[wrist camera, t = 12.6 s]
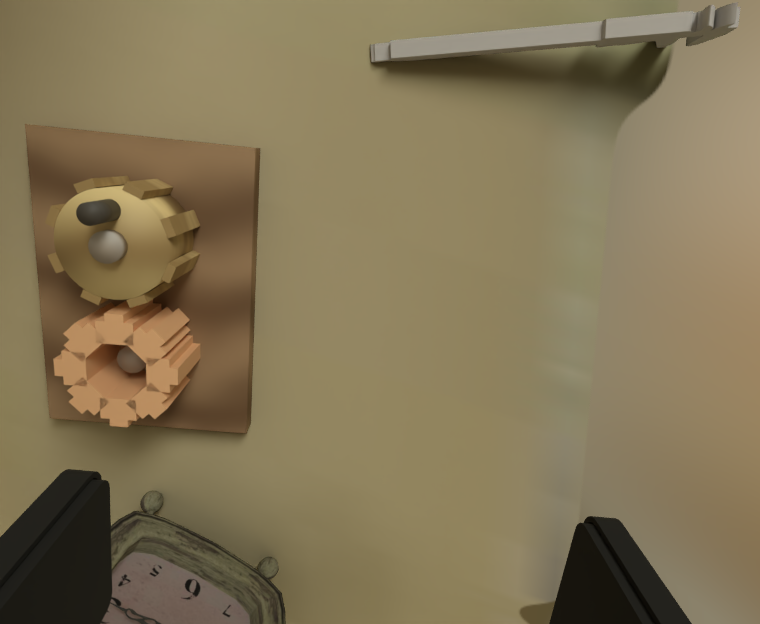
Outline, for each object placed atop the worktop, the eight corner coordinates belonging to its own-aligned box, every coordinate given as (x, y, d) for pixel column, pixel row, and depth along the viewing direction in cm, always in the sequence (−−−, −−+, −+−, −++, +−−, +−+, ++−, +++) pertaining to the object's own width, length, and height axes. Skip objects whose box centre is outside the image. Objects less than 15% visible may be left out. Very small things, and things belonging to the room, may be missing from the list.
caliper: (692, 28, 33) (765, -2, 27) (690, 47, 33) (762, 22, 27) (370, 46, 33) (370, 19, 27) (371, 64, 33) (371, 43, 27)
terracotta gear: (88, 290, 35) (49, 308, 31) (200, 300, 35) (177, 319, 31) (94, 391, 37) (58, 422, 33) (200, 399, 37) (178, 430, 33)
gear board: (39, 125, 34) (-64, 115, 25) (260, 148, 34) (226, 145, 26) (61, 408, 39) (-19, 473, 31) (250, 423, 40) (221, 490, 32)
